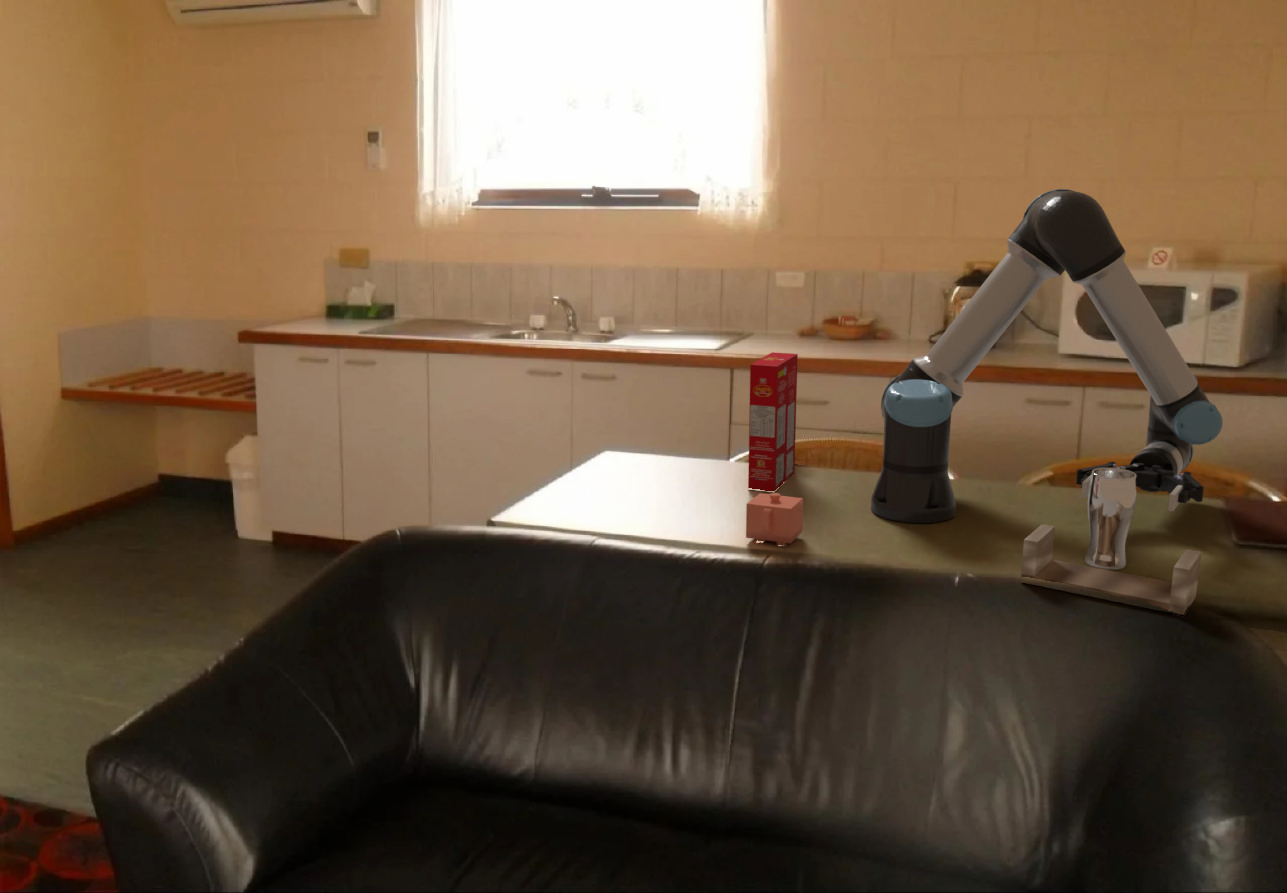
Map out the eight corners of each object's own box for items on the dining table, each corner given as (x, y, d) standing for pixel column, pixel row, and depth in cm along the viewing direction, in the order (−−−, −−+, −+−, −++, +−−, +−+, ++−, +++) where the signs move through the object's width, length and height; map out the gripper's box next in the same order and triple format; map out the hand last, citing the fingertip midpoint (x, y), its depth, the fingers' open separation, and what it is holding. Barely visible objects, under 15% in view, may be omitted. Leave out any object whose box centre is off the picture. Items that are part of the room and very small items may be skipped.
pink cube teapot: (807, 531, 198) (808, 486, 196) (786, 553, 187) (787, 505, 185) (764, 526, 201) (765, 481, 199) (741, 547, 191) (742, 500, 189)
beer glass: (1105, 573, 177) (1114, 481, 173) (1072, 559, 183) (1080, 470, 179) (1138, 567, 180) (1148, 476, 176) (1105, 553, 186) (1113, 465, 182)
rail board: (1020, 583, 173) (1024, 539, 172) (1038, 566, 181) (1041, 524, 179) (1183, 616, 160) (1189, 569, 159) (1196, 596, 168) (1201, 551, 166)
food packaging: (769, 471, 236) (772, 352, 230) (794, 473, 234) (797, 353, 228) (748, 490, 223) (750, 364, 216) (774, 493, 221) (777, 366, 214)
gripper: (1230, 498, 198) (1207, 530, 181) (1082, 477, 212) (1048, 506, 195) (1234, 456, 196) (1212, 485, 179) (1085, 438, 210) (1051, 464, 193)
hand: (1126, 496), depth 187 cm, fingers open, 13 cm apart
